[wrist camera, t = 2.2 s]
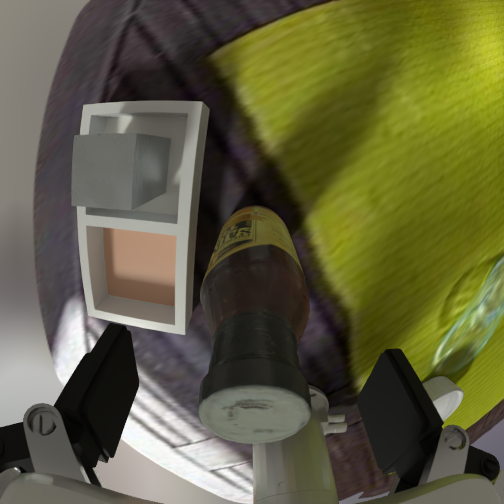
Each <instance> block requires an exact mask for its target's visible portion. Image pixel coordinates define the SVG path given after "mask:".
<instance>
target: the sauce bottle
mask: <svg viewBox="0 0 504 504" xmlns="http://www.w3.org/2000/svg"><path fill="white" fill-rule="evenodd" d="M200 301H201V305H202V307H203V310H204V314H205V317H206V321H207V324H208V327H209V330H210V334H211V337H212V341H211V348H212V355H211V361H210V364H209V372H208V374H207V375H206V376H205V377H204V379H203V381H202V382H201V387H200V396H199V405H198V414H199V417H200V420H201V422H202V423H203V424H204V425H205V426H206V427H207V428H208V429H209V430H210V431H211V432H213V433H214V434H216V435H217V436H219V437H221V438H224V439H227V440H230V441H235V442H240V443H253V444H258V443H268V442H274V441H279V440H282V439H285V438H287V437H289V436H292V435H294V434H296V433H297V432H298V431H299V430H300V429H302V428H303V427H304V426H305V425H306V424H307V423H308V422H309V420H310V418H311V414H312V406H311V396H310V392H309V386H308V382H307V380H306V378H305V377H304V375H303V374H302V373H301V372H300V368H299V359H298V354H297V350H298V345H297V343H298V342H299V341H300V338H301V337H302V334H303V332H304V330H305V328H306V325H307V322H308V316H309V312H310V310H309V309H310V304H309V296H308V290H307V288H306V286H305V278H304V275H303V271H302V268H301V266H300V263H299V260H298V257H297V254H296V251H295V249H294V246H293V243H292V240H291V237H290V234H289V232H288V229H287V227H286V225H285V223H284V222H283V221H282V219H281V218H280V217H279V216H278V215H277V214H276V213H275V212H274V211H272V210H271V209H269V208H267V207H264V206H256V205H255V206H246V207H243V208H242V209H240V210H238V211H237V212H236V213H234V214H233V215H231V216H230V217H229V218H228V220H227V221H226V222H225V224H224V225H223V227H222V230H221V233H220V235H219V238H218V241H217V244H216V246H215V249H214V252H213V254H212V257H211V260H210V263H209V266H208V269H207V272H206V274H205V277H204V280H203V283H202V286H201V291H200Z"/></svg>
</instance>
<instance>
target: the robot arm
mask: <svg viewBox="0 0 504 504" xmlns="http://www.w3.org/2000/svg"><path fill="white" fill-rule="evenodd" d="M308 386H309V392H310V396H311V406H312V414H311V418H310V420H309V422H308V423H307V424H306V425H305V426H304V427H303V428H302V429H300V430H299V431H298V432H297V433H296V434H294V435H292V436H289V437H287V438H285V439H282V440H279V441H274V442H268V443H258V444H253V504H339V502H338V497H337V491H336V486H335V482H334V477H333V472H332V467H331V462H330V458H329V453H328V448H327V444H326V439H325V435H326V434H327V433H339V432H345V431H346V429H347V423H346V421H344V419H345V415H344V413H339V414H329V413H327V412H328V409H329V403H328V400H327V397H326V395H325V394H324V393H323V392H322V391H321V390H320V389H318V388H316V387H314V386H311V385H308ZM138 387H139V377H138V372H137V367H136V361H135V356H134V349H133V343H132V337H131V332H130V331H128V330H127V328H126V326H124V325H119V324H114V323H110V324H109V325H108V326H107V328H106V329H105V331H104V332H103V334H102V335H101V337H100V338H99V340H98V341H97V343H96V344H95V346H94V348H93V349H92V351H91V352H90V353H86V354H85V355H84V356H83V358H82V360H81V361H80V363H79V364H78V366H77V368H76V369H75V371H74V372H73V374H72V376H71V377H70V379H69V381H68V382H67V384H66V386H65V387H64V389H63V391H62V392H61V394H60V396H59V397H58V399H57V401H56V403H55V404H54V406H51V405H49V404H45V403H41V404H36V405H33V406H32V407H30V408H29V409H28V410H27V411H26V413H25V415H24V418H23V422H20V423H16V424H12V425H9V426H4V427H0V504H162V503H158V502H153V501H149V500H144V499H140V498H136V497H132V496H128V495H125V494H122V493H118V492H115V491H112V490H108V489H105V488H104V485H103V484H102V482H101V480H100V478H99V476H98V474H97V472H96V470H95V467H96V465H97V462H98V460H99V461H102V462H105V463H107V462H108V460H109V457H110V458H113V457H114V455H115V452H116V450H117V446H118V444H119V441H120V438H121V435H122V432H123V429H124V426H125V423H126V420H127V418H128V415H129V412H130V409H131V407H132V404H133V401H134V398H135V396H136V393H137V390H138ZM357 405H358V408H359V411H360V414H361V417H362V420H363V423H364V426H365V429H366V431H367V434H368V437H369V440H370V444H371V447H372V450H373V453H374V456H375V459H376V462H377V465H378V468H379V469H382V472H383V475H384V474H388V473H392V472H395V471H396V472H397V477H396V479H395V482H394V484H393V486H392V488H391V490H390V492H389V494H388V496H384V497H381V498H377V499H373V500H369V501H365V502H360V503H356V504H504V470H503V469H501V470H500V466H499V462H498V460H497V459H496V457H495V456H493V455H492V454H489V453H487V452H484V451H482V450H480V449H477V448H475V447H473V446H470V445H469V438H468V435H467V433H466V432H465V430H464V429H462V428H461V427H459V426H457V425H448V426H446V427H445V428H444V429H443V428H442V425H443V424H444V422H443V420H442V418H441V416H440V415H439V413H438V411H437V409H436V407H435V405H434V404H433V402H432V400H431V398H430V397H429V395H428V393H427V391H426V390H425V388H424V386H423V384H422V383H421V381H420V379H419V378H418V376H417V374H416V373H415V371H414V369H413V368H412V366H411V364H410V363H409V361H408V360H407V358H406V356H405V355H404V353H403V352H402V350H401V349H386V350H385V351H384V353H382V354H381V355H380V357H379V359H378V361H377V363H376V364H375V366H374V368H373V370H372V372H371V374H370V376H369V378H368V380H367V381H366V383H365V385H364V387H363V389H362V390H361V392H360V394H359V395H358V398H357Z"/></svg>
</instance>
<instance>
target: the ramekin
mask: <svg viewBox="0 0 504 504" xmlns="http://www.w3.org/2000/svg"><path fill="white" fill-rule="evenodd" d="M422 384H423V386H424V388H425V390H426V391H427V393H428V395H429V397H430V398H431V400H432V402H433V404H434V405H435V407H436V409H437V411H438V413H439V415H440V416H441V418H442V420H443V421H444V420H445V419H446V418H448V417H449V416H450V415H451V414H452V413H453V412H454V411H455V410H456V408H457V407H458V406H459V404H460V403H461V401H462V398H463V391H462V390H461V388H459V387H457V386H456V385H455V384H454V383H453V382H452V381H451V380H450V379H448V378H447V377H444V376H437V377H434V378H431V379H429V380H427V381H426V382H424V383H422Z"/></svg>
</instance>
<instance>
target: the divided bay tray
mask: <svg viewBox="0 0 504 504" xmlns="http://www.w3.org/2000/svg"><path fill="white" fill-rule="evenodd" d="M209 112H210V109H209V108H208V107H207V106H206V105H205V104H204V103H203V102H197V101H127V102H111V103H100V104H90V105H84V106H83V113H82V121H81V130H80V135H87V134H111V133H139V134H146V135H153V136H160V137H166V138H171V144H170V153H169V163H168V174H167V186H166V193H164V194H162V195H160V196H158V197H156V198H154V199H152V200H151V201H149V202H147V203H145V204H143V205H141V206H139V207H137V208H136V209H134V210H132V211H129V210H118V209H106V208H94V207H81V206H77V218H78V238H79V251H80V261H81V270H82V278H83V286H84V292H85V299H86V305H87V310H88V316H92V317H96V318H101V319H105V320H109V321H114V322H118V323H123V324H127V325H132V326H137V327H142V328H147V329H153V330H158V331H164V332H170V333H176V334H182V335H185V334H186V331H187V328H188V325H189V322H190V319H191V316H192V305H193V281H194V262H195V246H196V232H197V219H198V207H199V197H200V186H201V176H202V167H203V158H204V150H205V142H206V134H207V127H208V119H209Z"/></svg>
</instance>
